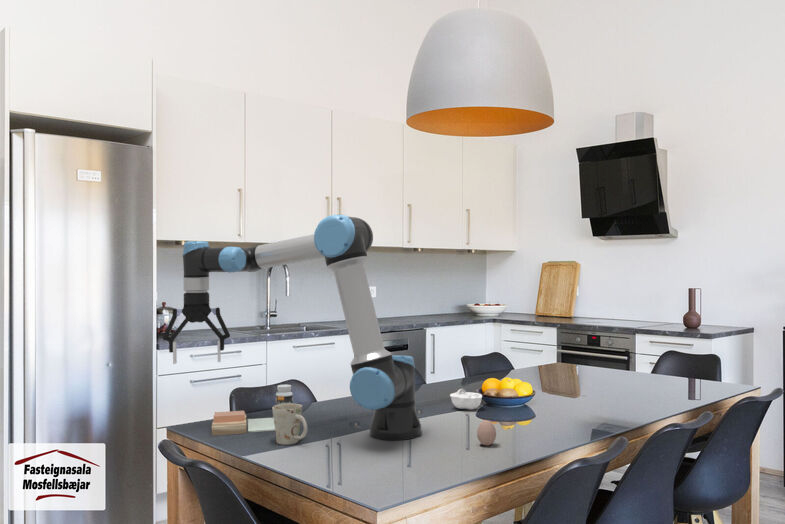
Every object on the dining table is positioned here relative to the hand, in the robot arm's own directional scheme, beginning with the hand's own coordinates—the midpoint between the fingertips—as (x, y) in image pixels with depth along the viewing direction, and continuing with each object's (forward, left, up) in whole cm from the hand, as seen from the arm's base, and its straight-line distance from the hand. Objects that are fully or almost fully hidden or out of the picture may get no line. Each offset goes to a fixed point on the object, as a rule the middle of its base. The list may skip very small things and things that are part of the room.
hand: (197, 362), depth 202 cm
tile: (0, -9, -18) cm, 20 cm away
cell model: (+5, -88, -21) cm, 90 cm away
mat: (+1, -21, -21) cm, 29 cm away
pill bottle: (+13, -27, -21) cm, 36 cm away
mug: (-23, -27, -21) cm, 41 cm away
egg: (-40, -78, -21) cm, 90 cm away
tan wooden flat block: (0, -9, -21) cm, 23 cm away
